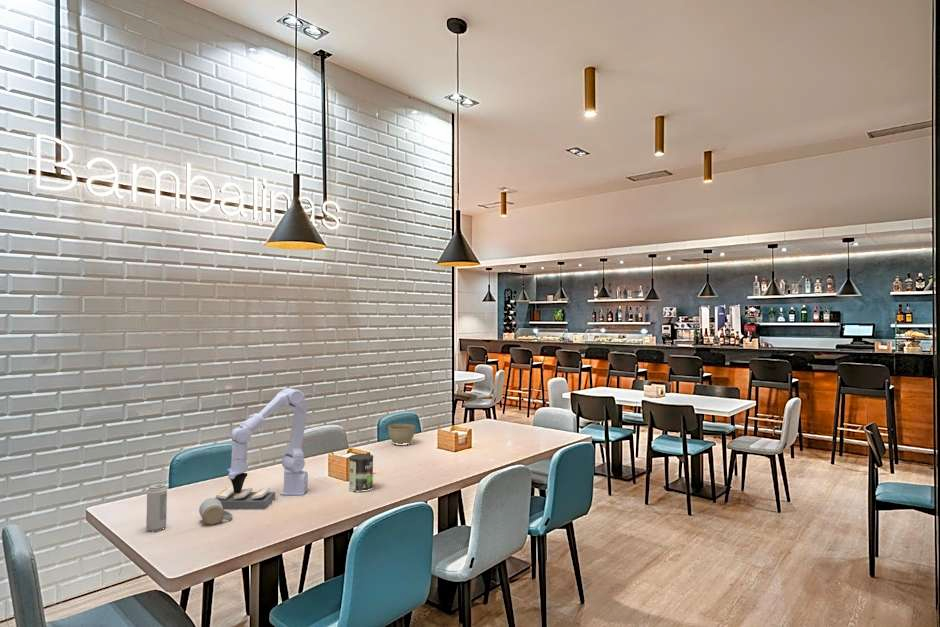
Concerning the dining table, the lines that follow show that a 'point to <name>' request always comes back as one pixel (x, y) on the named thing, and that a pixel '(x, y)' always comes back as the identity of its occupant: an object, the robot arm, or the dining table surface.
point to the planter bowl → (401, 433)
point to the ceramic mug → (213, 511)
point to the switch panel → (247, 501)
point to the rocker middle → (243, 493)
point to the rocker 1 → (225, 493)
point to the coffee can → (361, 472)
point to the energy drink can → (156, 507)
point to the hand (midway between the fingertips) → (237, 492)
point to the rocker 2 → (260, 493)
